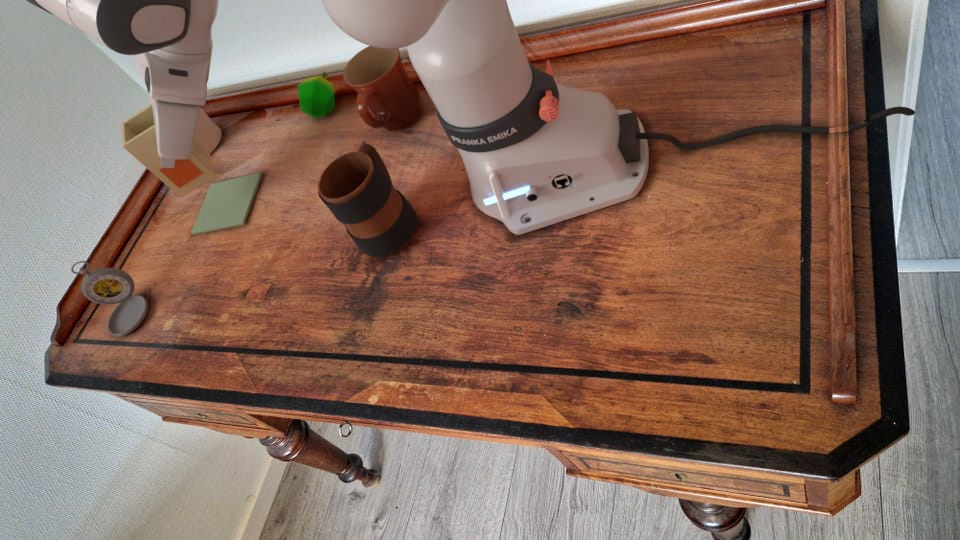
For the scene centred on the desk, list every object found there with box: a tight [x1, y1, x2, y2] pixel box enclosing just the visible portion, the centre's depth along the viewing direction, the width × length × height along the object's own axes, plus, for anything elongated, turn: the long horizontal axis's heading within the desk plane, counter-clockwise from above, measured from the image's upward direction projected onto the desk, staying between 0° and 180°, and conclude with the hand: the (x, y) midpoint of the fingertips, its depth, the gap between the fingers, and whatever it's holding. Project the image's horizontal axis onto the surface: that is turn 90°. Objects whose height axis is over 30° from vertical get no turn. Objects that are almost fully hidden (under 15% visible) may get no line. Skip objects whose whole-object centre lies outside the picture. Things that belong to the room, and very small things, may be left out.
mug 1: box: [342, 45, 424, 132], centre depth 93 cm, size 12×9×10 cm
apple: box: [297, 71, 336, 119], centre depth 105 cm, size 7×6×9 cm
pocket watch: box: [70, 260, 149, 337], centre depth 92 cm, size 8×8×10 cm
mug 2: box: [317, 142, 419, 258], centre depth 82 cm, size 9×12×12 cm
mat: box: [190, 172, 263, 235], centre depth 102 cm, size 10×10×1 cm
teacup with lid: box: [148, 97, 223, 154], centre depth 111 cm, size 12×9×12 cm
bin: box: [120, 103, 216, 198], centre depth 93 cm, size 6×6×11 cm
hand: (164, 150), depth 93 cm, fingers closed on bin, 6 cm apart
